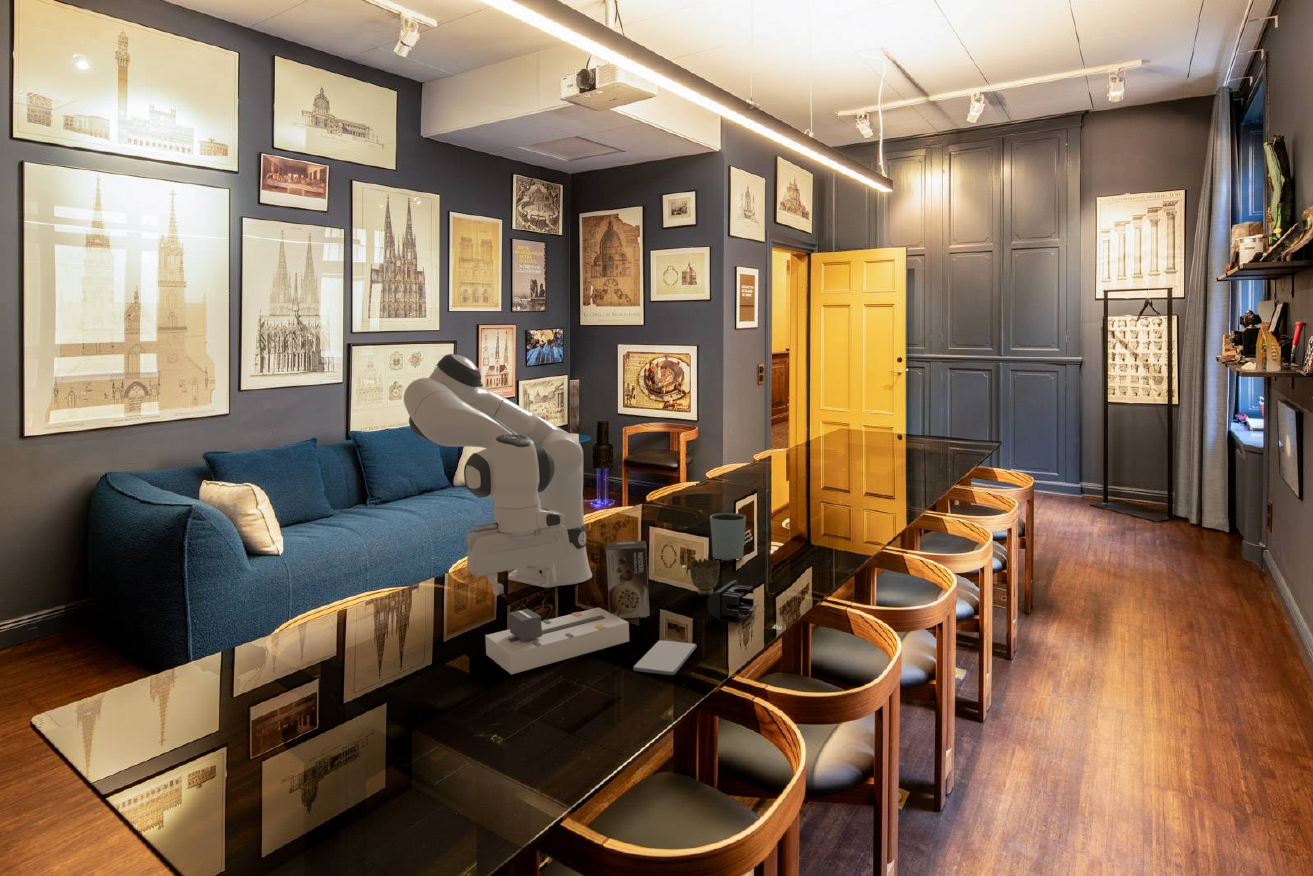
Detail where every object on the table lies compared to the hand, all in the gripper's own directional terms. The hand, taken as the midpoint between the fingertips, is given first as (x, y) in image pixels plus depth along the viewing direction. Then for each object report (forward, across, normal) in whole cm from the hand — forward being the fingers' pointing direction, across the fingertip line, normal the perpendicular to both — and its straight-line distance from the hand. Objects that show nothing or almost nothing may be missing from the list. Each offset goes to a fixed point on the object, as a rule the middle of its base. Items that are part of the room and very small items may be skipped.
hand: (521, 589), depth 148 cm
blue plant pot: (+14, +77, +30) cm, 83 cm away
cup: (+14, +51, +8) cm, 54 cm away
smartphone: (+14, +22, -18) cm, 31 cm away
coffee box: (+14, +29, +8) cm, 33 cm away
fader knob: (+9, 0, 0) cm, 9 cm away
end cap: (+14, +46, -7) cm, 49 cm away
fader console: (+14, +8, 0) cm, 16 cm away
